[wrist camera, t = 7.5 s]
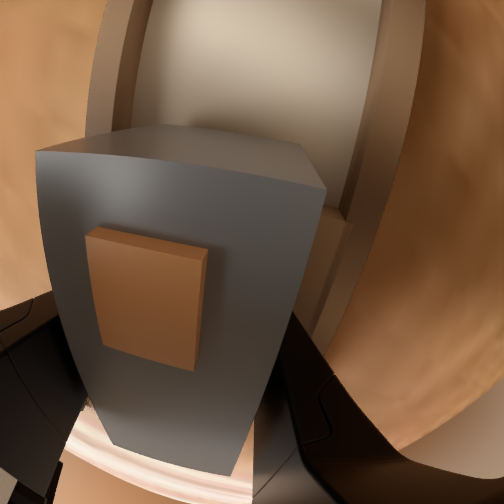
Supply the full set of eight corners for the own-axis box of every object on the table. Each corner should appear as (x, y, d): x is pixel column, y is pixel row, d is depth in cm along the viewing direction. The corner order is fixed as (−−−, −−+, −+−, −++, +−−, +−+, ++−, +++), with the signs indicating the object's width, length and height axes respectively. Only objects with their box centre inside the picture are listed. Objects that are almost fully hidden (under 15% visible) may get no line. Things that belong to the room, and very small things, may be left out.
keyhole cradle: (290, 390, 14) (289, 418, 12) (125, 352, 14) (112, 376, 12) (407, -38, 5) (426, -56, 3) (162, -69, 5) (143, -89, 3)
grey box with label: (246, 369, 12) (228, 484, 7) (156, 348, 12) (110, 450, 7) (299, 144, 8) (331, 197, 3) (160, 123, 8) (21, 155, 3)
